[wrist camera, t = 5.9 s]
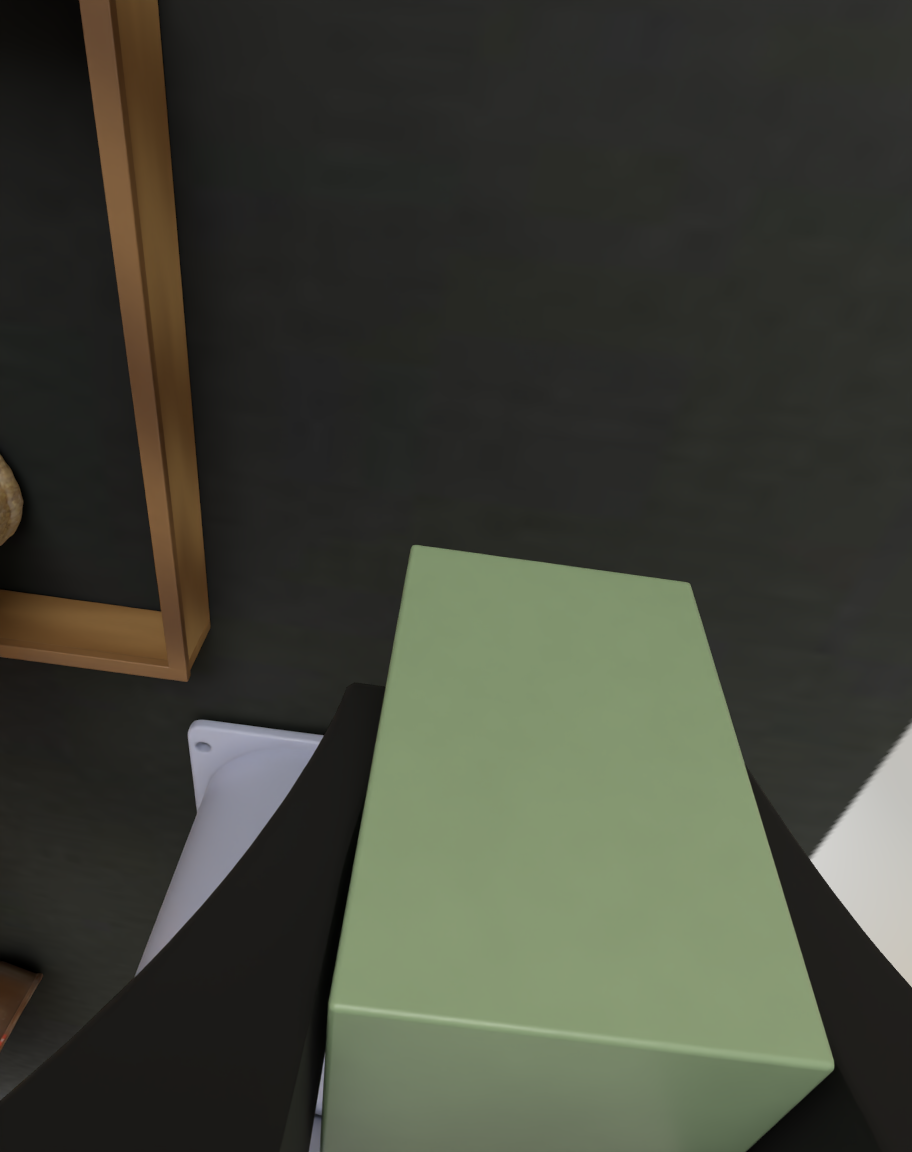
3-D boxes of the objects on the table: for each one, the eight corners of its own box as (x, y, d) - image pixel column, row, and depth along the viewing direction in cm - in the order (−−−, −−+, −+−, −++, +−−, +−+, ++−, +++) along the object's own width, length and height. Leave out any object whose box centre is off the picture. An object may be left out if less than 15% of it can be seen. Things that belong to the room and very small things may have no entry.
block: (619, 760, 15) (682, 1215, 9) (390, 731, 15) (317, 1174, 9) (690, 581, 12) (840, 1070, 7) (411, 542, 12) (327, 1008, 7)
